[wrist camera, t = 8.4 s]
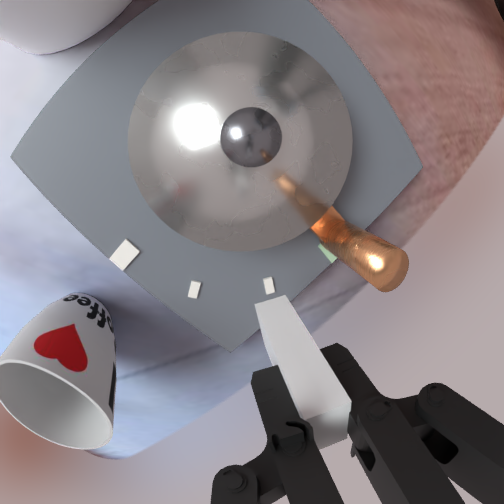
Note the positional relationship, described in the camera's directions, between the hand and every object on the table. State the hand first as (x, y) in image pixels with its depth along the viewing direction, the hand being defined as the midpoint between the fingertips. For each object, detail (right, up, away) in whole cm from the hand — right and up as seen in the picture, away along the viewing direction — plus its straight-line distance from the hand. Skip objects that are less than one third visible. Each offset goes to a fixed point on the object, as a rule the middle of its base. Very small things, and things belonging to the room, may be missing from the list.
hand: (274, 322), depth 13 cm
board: (-2, +11, +4) cm, 12 cm away
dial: (0, +9, +3) cm, 9 cm away
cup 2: (-15, -2, +6) cm, 16 cm away
